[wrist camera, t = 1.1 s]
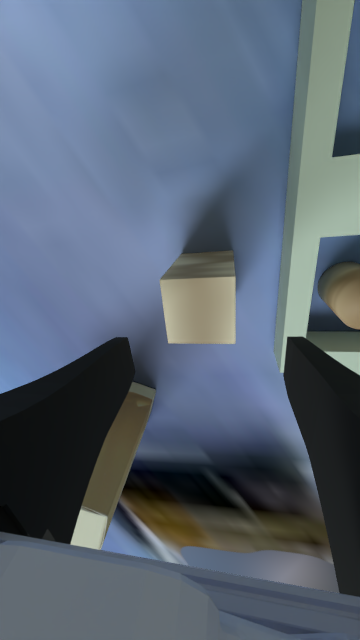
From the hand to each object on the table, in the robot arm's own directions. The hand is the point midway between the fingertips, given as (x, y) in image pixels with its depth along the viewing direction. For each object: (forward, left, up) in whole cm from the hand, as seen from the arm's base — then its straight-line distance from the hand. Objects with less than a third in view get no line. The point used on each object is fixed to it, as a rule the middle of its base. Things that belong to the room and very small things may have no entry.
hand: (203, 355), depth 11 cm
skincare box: (+9, +13, -10) cm, 19 cm away
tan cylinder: (-10, 0, -10) cm, 14 cm away
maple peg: (0, -1, -10) cm, 10 cm away
